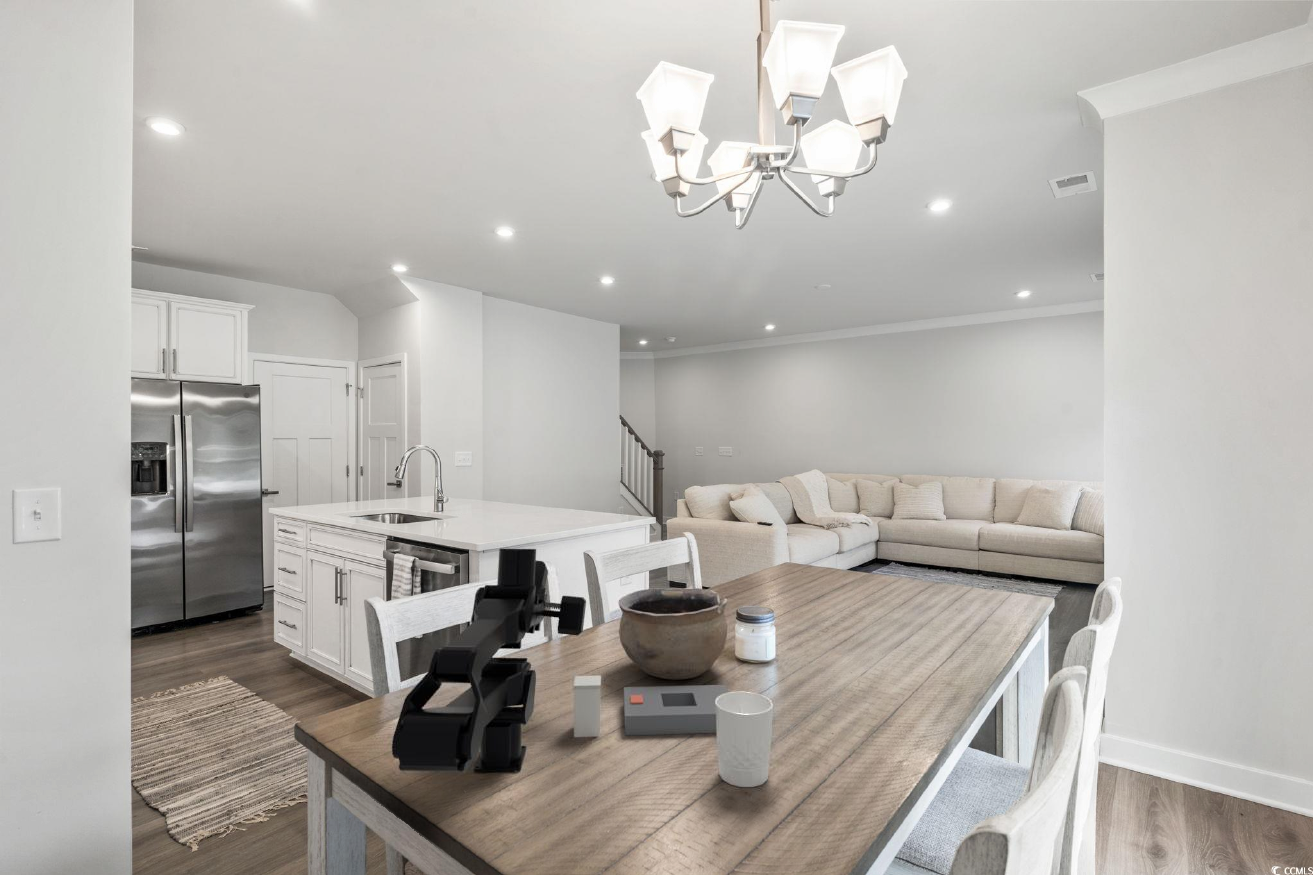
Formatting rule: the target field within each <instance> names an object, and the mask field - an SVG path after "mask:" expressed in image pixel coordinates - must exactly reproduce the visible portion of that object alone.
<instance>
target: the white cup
mask: <svg viewBox="0 0 1313 875" xmlns="http://www.w3.org/2000/svg"><path fill="white" fill-rule="evenodd" d="M773 706H774V705H773V701H772V700H771V699H769V698H768V697H767V696H764V695H762V694H760V693H756V692H751V691H750V692H749V691H729V693H725V694H722V695H720V696H718V697H717V698H716V700H715V710H716V733H715V734H716V746H717V747H716V748H717V750H716V751H717V756H718V758H717V759H718V774H719V776H720V777H721V780H722V781H724V782H726V783H727V784H729V785H731V786H735V787H740V788H754V787H757V786H758V787H759V786H762V785H764V783H766V782H767V781H768V778H769V764H770V758H771V747H772V745H771V744H772V742H771V741H772V733H773V732H772V729H773V728H772V727H773V712H774V711H773V710H774V709H773V708H774V707H773Z"/></svg>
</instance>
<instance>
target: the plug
mask: <svg viewBox="0 0 1313 875" xmlns="http://www.w3.org/2000/svg"><path fill="white" fill-rule="evenodd" d="M601 683H602V675H575V676H574V681H573V738H589V737H590V738H593V737H594V738H595V737H599V738H600V736H601V689H602V684H601Z"/></svg>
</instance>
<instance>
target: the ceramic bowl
mask: <svg viewBox="0 0 1313 875" xmlns="http://www.w3.org/2000/svg"><path fill="white" fill-rule="evenodd" d="M727 601H728V599H727V598H722V600H721V599H720V593H719V592H717V591H714V590H712V589H711V590H710V589H706V588H688V587H686V588H681V587H680V588H679V587H651V588H647V589H641V590H637V591H633V592H631V593H628V594H627V593H626V595H624V596H622V597H621V598H620V599H619V600H618V606H619V608H620V610H621V612H622V614H621V617H620V621H619V629H618V633H619V634H618V635H619V641H620V644H621V646H622V648H623V650H624V652H625V654H626V656H627V657H628V658H629V659H630V660H631V661H632V663H634V664H635V665H637V667H638V668H639V669H640V670H642V671H643V672H644V673H646V674H648V675H650V676H653V677H655V678H658V679H663V680H674V681H675V680H686V679H693V678H696V677H698V676H701V675H703V674H704V673H705V672H706V671H708V670H709V669H711V668H712V667H713V665H714V664H715V662H716V661H717V660H718V658H720V656H721V654H722V653H723V651H724V650H725V646H726V644H727V637H728V622H727V618H726V615H725V609H726V606H727V603H728V602H727Z"/></svg>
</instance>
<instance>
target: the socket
mask: <svg viewBox="0 0 1313 875" xmlns="http://www.w3.org/2000/svg"><path fill="white" fill-rule="evenodd" d="M729 692H730V691H729V689H728V688H727V685H726V684H711V685H708V684H707V685H706V684H705V685H702V684H701V685H700V684H699V685H664V686H663V685H662V686H661V685H660V686H627V687H626V686H624V687H623V711H624V712H623V716H624V718H623V719H624V733H625V734H624V735H625V736H652V735H683V734H684V735H686V734H687V735H689V734H716V710H715V700H716V698H717V697H718V696H720V695H722V694H725V693H729Z"/></svg>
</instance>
